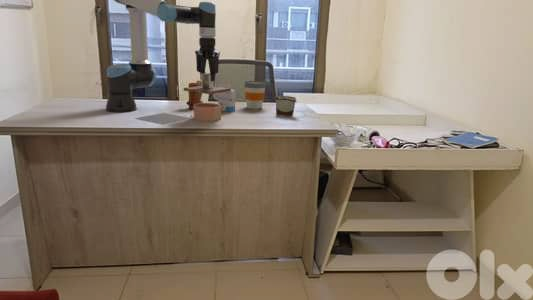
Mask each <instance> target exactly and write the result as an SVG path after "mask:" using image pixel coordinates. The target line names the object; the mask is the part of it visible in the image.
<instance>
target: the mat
mask: <svg viewBox="0 0 533 300" xmlns="http://www.w3.org/2000/svg"><path fill="white" fill-rule="evenodd" d="M133 119H134V120H135V119H136V120H138V121H139V120H140V121H144V122H149V123H153V124H158V125H162V126H163V125H167V124H171V123H177V122H180V121H186V120H190V119H191V117H187V116H181V115H178V114H172V113H171V114H170V113H167V112H166V113H165V112H161V113H155V114H151V115H146V116H140V117H134V118H133Z"/></svg>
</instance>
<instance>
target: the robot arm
mask: <svg viewBox="0 0 533 300" xmlns="http://www.w3.org/2000/svg"><path fill="white" fill-rule="evenodd" d="M113 1H114V2H116V3H117V4H121V5H123V6H125V9H126V11H127V12H128V16H129V36H130V51H131V52H130V53H131V57H130V58H131V60H129V62H128V63H118V64H116V63H115V64H112V65H109V66H108V67H107V69H106V76H107V87H108V88H107V90H108V97H107V100H106V104H105V110H106V111H107V112H111V113H113V112H114V113H126V112H127V113H128V112H133V111H136V110H137V104H136V101H135V98H134V96H133V89H140V88H141V89H142V88H143V89H146V88H147V87H148V88H149V87H151V86H153V85H154V84H155V82H156V80H157V71H156V70H155V67H153V66H152V62H151V61H150V60H149V51H148V50H149V48H148V47H149V45H148V25H147V24H148V23H147V22H148V19H147V14H150V15H153V16H155V17H157V18H159V20H160V21H161V22H164V23H165V22H166V23H178V24H179V23H180V24H187V25H190V24H191V25H193V24H194V25H197V24H198V29H199V30H198V31H199V33H198V34H199V38H198V39H199V40H198V42H199V49H198V50H195V52H194V53H195V57H196V58H195V60H196V62H195V63H196V72H198V73H199V74H200V75H199V76H200V81H201V87H203V73H207V71H206V65H207V61H208V67H209V88H214V87H215V84H214V83H215V79H216V78H215V75H216V74H219V62H220V54H221V52H220V51H217V50H216V36H217V35H216V16H217V15H216V14H217V13H216V12H217V11H216V4H215V2H212V1H210V2H209V1H201V2H199V3H198V6H187V5H179V4H178V5H177V4H172V3H170V2H168V1H165V0H113Z"/></svg>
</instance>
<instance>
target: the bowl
mask: <svg viewBox="0 0 533 300" xmlns="http://www.w3.org/2000/svg"><path fill="white" fill-rule="evenodd" d="M193 119H194V120H197V121H200V122H216V121H220V120H221V119H222V111H221V105H220V104H218V103H214V102H203V103H197V104H194V109H193Z"/></svg>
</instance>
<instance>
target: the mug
mask: <svg viewBox="0 0 533 300" xmlns="http://www.w3.org/2000/svg"><path fill="white" fill-rule="evenodd" d="M196 86H201V80H196V81H195V82H189V83H188V87H196ZM187 92H188V101H187V102H186V105H187V106H188V108H189V109H191V110H194V104H197V103H204V101H202V95H203V93H198V92H191V91H187Z"/></svg>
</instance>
